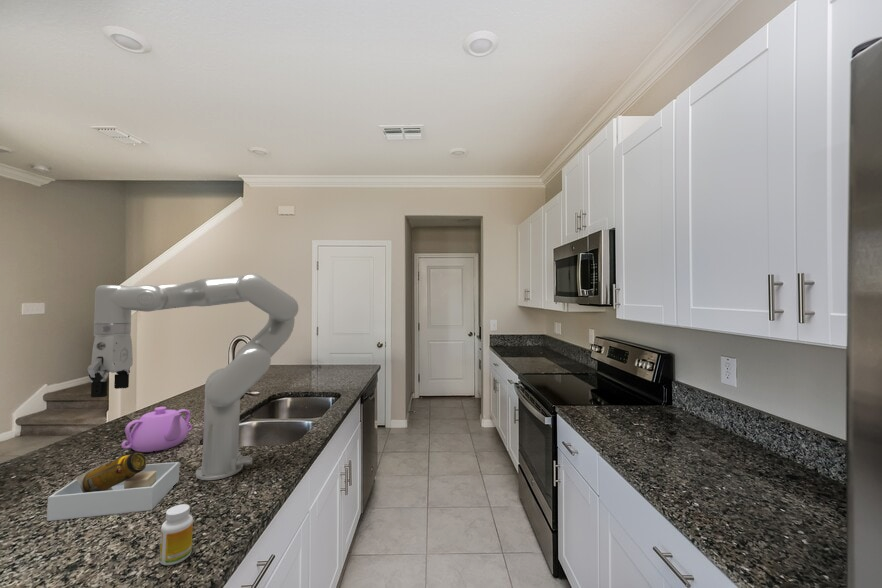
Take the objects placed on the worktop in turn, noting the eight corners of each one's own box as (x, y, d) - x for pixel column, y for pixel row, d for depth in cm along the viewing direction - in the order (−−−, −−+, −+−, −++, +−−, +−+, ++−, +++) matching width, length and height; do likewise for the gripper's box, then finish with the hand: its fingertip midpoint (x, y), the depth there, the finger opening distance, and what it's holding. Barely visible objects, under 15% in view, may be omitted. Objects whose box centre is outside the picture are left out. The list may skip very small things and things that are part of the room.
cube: (155, 489, 99) (156, 470, 99) (146, 498, 94) (147, 479, 95) (134, 491, 98) (134, 472, 98) (123, 500, 93) (124, 481, 93)
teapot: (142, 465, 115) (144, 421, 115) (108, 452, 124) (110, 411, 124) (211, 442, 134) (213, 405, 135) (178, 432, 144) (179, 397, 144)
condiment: (100, 464, 97) (143, 444, 98) (113, 493, 97) (156, 473, 98) (74, 477, 89) (121, 456, 90) (88, 508, 89) (135, 486, 90)
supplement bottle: (198, 551, 76) (200, 504, 76) (173, 568, 71) (175, 518, 71) (178, 546, 77) (180, 500, 78) (152, 563, 72) (154, 514, 72)
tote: (178, 481, 105) (179, 461, 105) (151, 510, 90) (152, 487, 91) (90, 489, 100) (91, 468, 100) (46, 521, 85) (48, 497, 85)
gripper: (109, 332, 91) (107, 399, 91) (145, 327, 108) (143, 384, 108) (73, 332, 89) (70, 401, 89) (115, 327, 106) (113, 385, 106)
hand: (110, 392), depth 98 cm, fingers open, 9 cm apart
